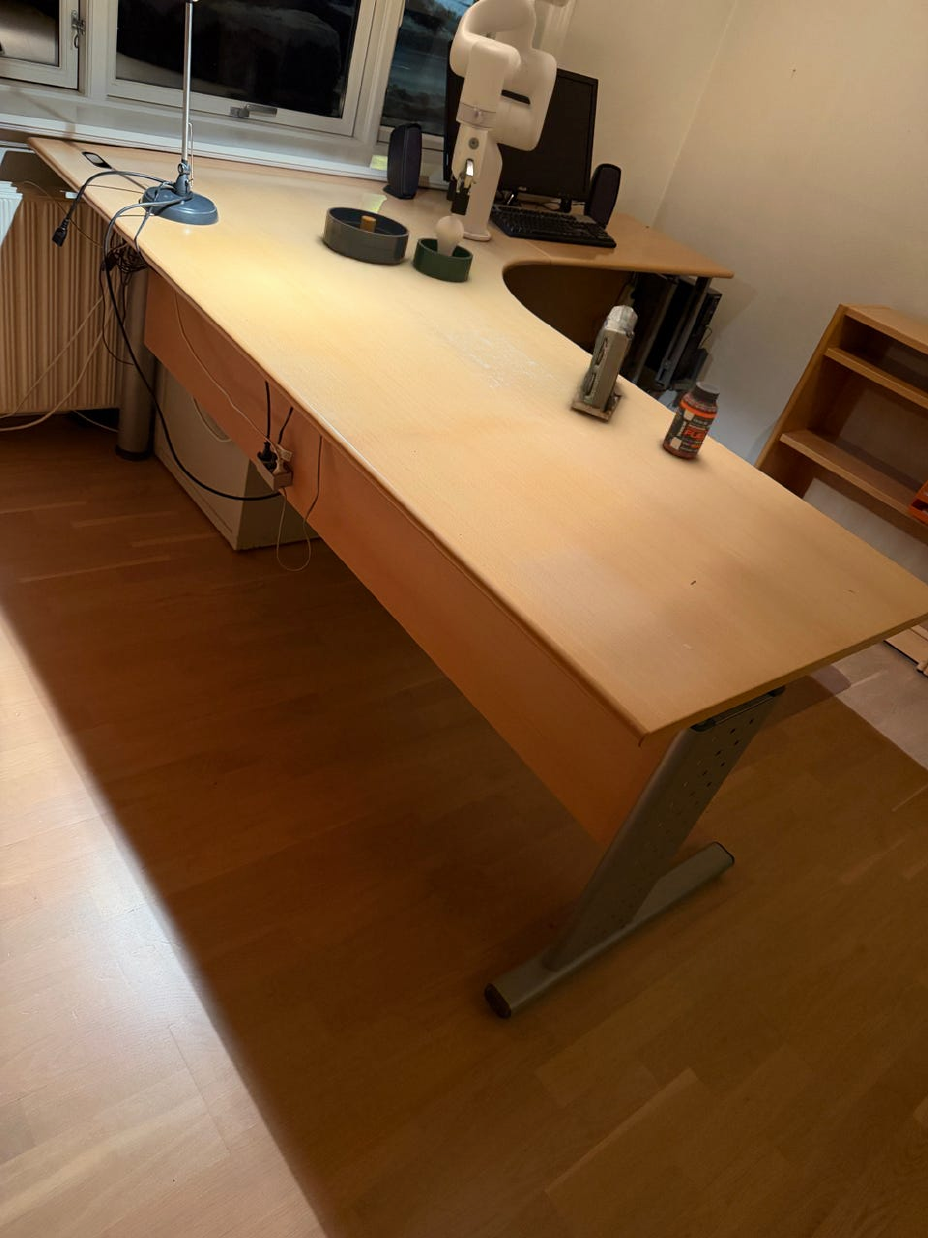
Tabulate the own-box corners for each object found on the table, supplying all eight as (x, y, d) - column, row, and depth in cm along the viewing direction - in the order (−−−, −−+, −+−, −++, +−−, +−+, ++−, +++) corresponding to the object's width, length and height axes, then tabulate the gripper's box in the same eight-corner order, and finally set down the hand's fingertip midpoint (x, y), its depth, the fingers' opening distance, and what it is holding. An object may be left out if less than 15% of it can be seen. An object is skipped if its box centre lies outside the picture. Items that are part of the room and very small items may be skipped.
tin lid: (333, 231, 185) (337, 202, 181) (392, 246, 188) (398, 217, 184) (333, 249, 174) (337, 218, 171) (395, 263, 178) (401, 234, 174)
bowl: (323, 229, 186) (327, 200, 183) (401, 247, 191) (407, 220, 187) (321, 252, 172) (326, 221, 169) (406, 271, 177) (412, 242, 173)
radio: (592, 369, 158) (620, 291, 149) (634, 386, 157) (665, 308, 148) (558, 405, 140) (588, 318, 131) (606, 424, 138) (639, 337, 129)
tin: (410, 256, 187) (415, 233, 184) (464, 269, 190) (469, 246, 187) (414, 273, 177) (419, 249, 174) (470, 286, 180) (476, 263, 178)
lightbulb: (451, 276, 181) (463, 223, 174) (424, 267, 181) (436, 214, 175) (456, 270, 186) (469, 218, 179) (431, 261, 186) (442, 209, 180)
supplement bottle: (675, 459, 134) (704, 394, 127) (655, 440, 138) (682, 376, 131) (703, 460, 137) (733, 396, 130) (682, 442, 141) (711, 379, 134)
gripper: (500, 130, 160) (477, 223, 171) (488, 113, 173) (467, 200, 184) (462, 120, 158) (441, 214, 169) (453, 103, 171) (434, 192, 182)
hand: (455, 207), depth 176 cm, fingers open, 9 cm apart
